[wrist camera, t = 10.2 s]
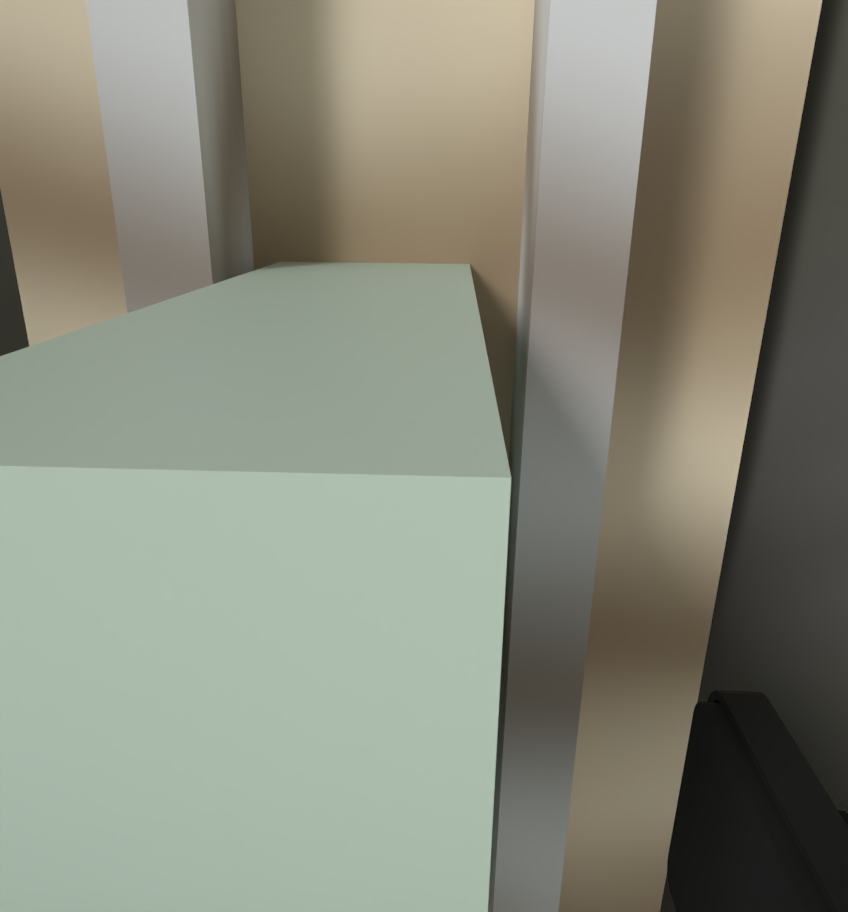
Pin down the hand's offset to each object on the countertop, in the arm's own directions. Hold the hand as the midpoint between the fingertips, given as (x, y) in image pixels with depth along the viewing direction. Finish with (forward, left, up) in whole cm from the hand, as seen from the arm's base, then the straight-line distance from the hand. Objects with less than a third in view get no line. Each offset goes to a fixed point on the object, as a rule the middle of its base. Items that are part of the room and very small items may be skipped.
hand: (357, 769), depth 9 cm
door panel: (0, 0, -4) cm, 4 cm away
